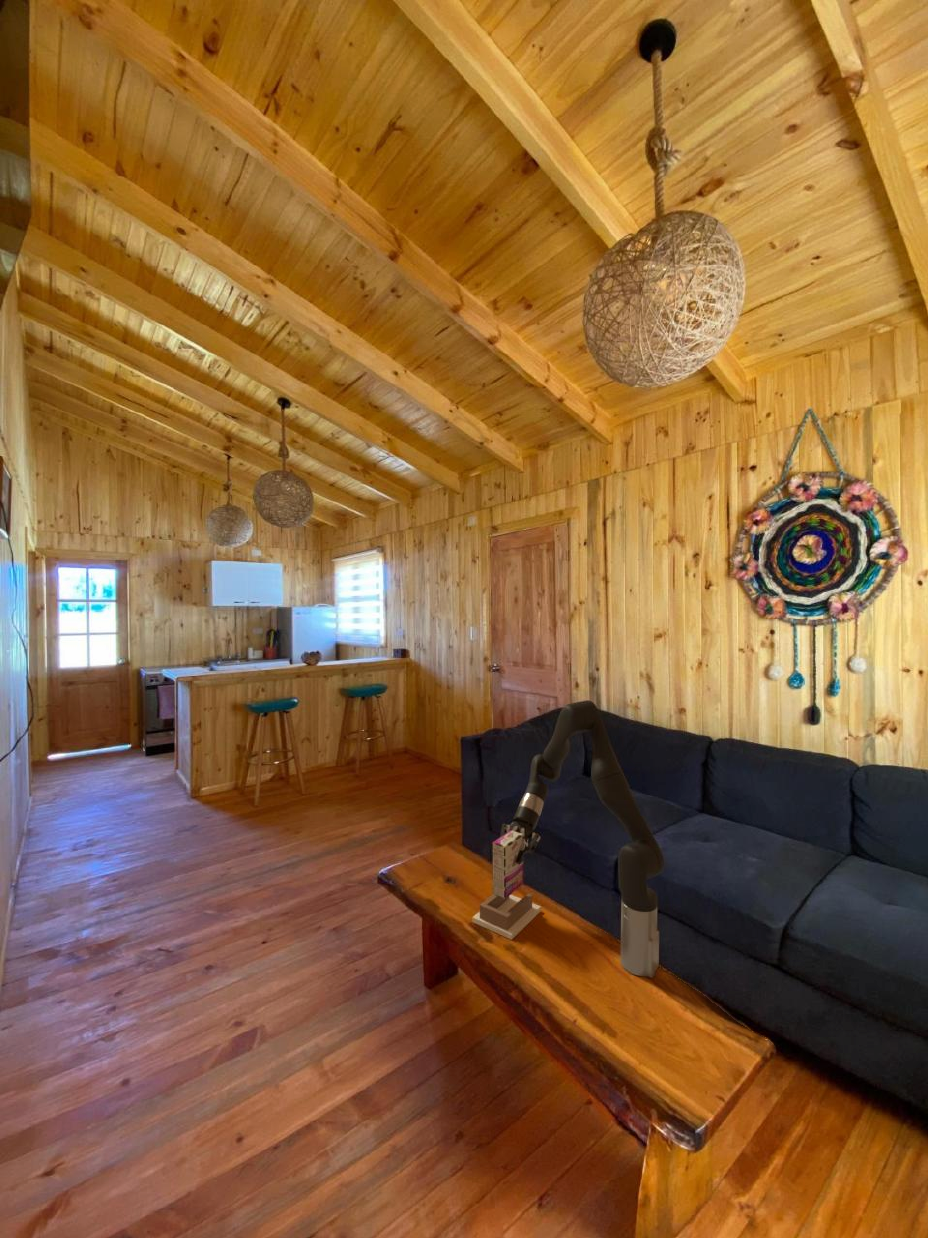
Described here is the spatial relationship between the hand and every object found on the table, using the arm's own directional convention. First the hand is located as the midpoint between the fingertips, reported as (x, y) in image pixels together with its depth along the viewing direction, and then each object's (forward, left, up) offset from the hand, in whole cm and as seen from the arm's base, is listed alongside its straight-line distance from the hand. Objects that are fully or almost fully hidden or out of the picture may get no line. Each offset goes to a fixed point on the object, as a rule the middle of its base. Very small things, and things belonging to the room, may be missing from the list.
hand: (510, 860), depth 162 cm
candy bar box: (0, +1, -9) cm, 9 cm away
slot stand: (0, +1, -17) cm, 17 cm away
